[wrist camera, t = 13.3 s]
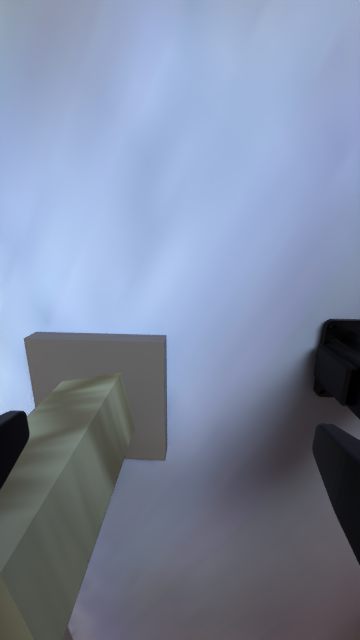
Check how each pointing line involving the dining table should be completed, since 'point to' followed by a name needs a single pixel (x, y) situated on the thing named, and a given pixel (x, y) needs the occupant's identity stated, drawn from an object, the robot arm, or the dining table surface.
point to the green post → (59, 503)
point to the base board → (103, 359)
